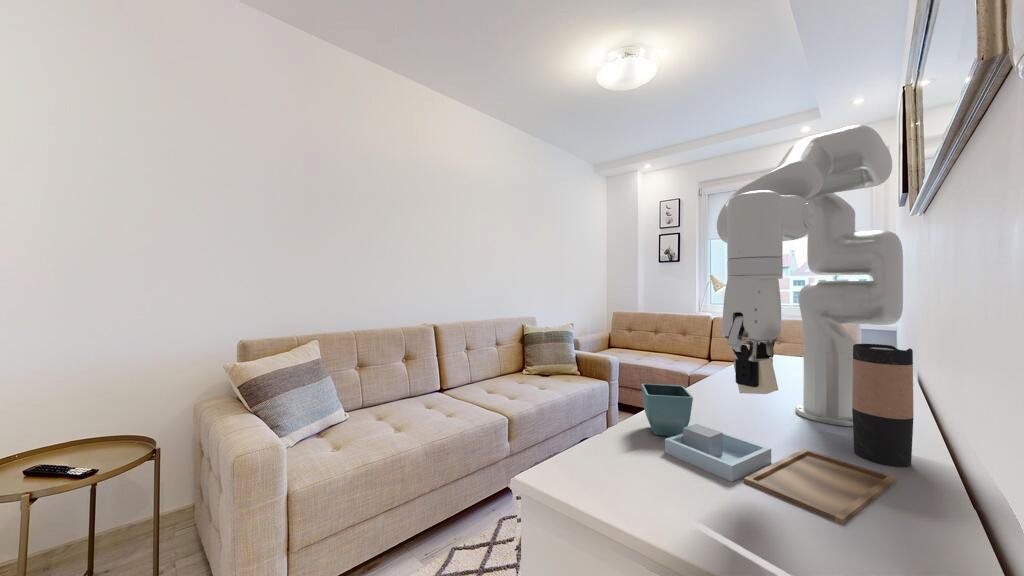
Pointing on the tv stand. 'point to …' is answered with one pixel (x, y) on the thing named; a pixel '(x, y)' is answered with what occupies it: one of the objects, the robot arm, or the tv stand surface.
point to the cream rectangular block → (762, 379)
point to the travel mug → (883, 404)
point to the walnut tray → (822, 484)
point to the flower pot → (667, 408)
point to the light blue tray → (723, 456)
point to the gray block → (703, 439)
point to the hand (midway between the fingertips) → (754, 382)
